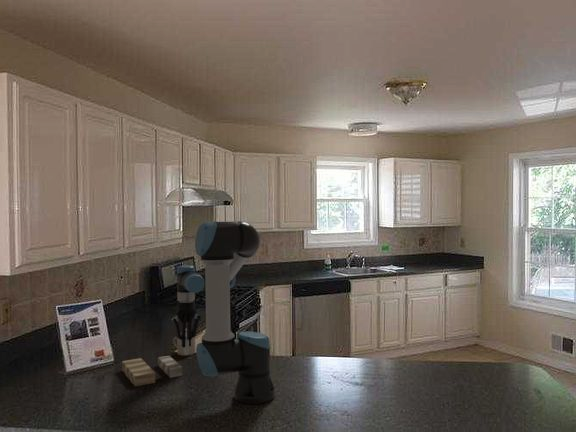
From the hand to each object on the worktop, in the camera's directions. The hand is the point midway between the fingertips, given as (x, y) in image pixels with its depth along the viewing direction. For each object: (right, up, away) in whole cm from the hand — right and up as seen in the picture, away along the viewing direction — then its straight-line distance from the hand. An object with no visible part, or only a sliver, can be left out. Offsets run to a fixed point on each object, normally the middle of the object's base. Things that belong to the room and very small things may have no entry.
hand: (186, 353), depth 204 cm
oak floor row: (-18, -6, -11) cm, 22 cm away
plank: (-6, -6, -4) cm, 10 cm away
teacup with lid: (-6, -6, +21) cm, 22 cm away
